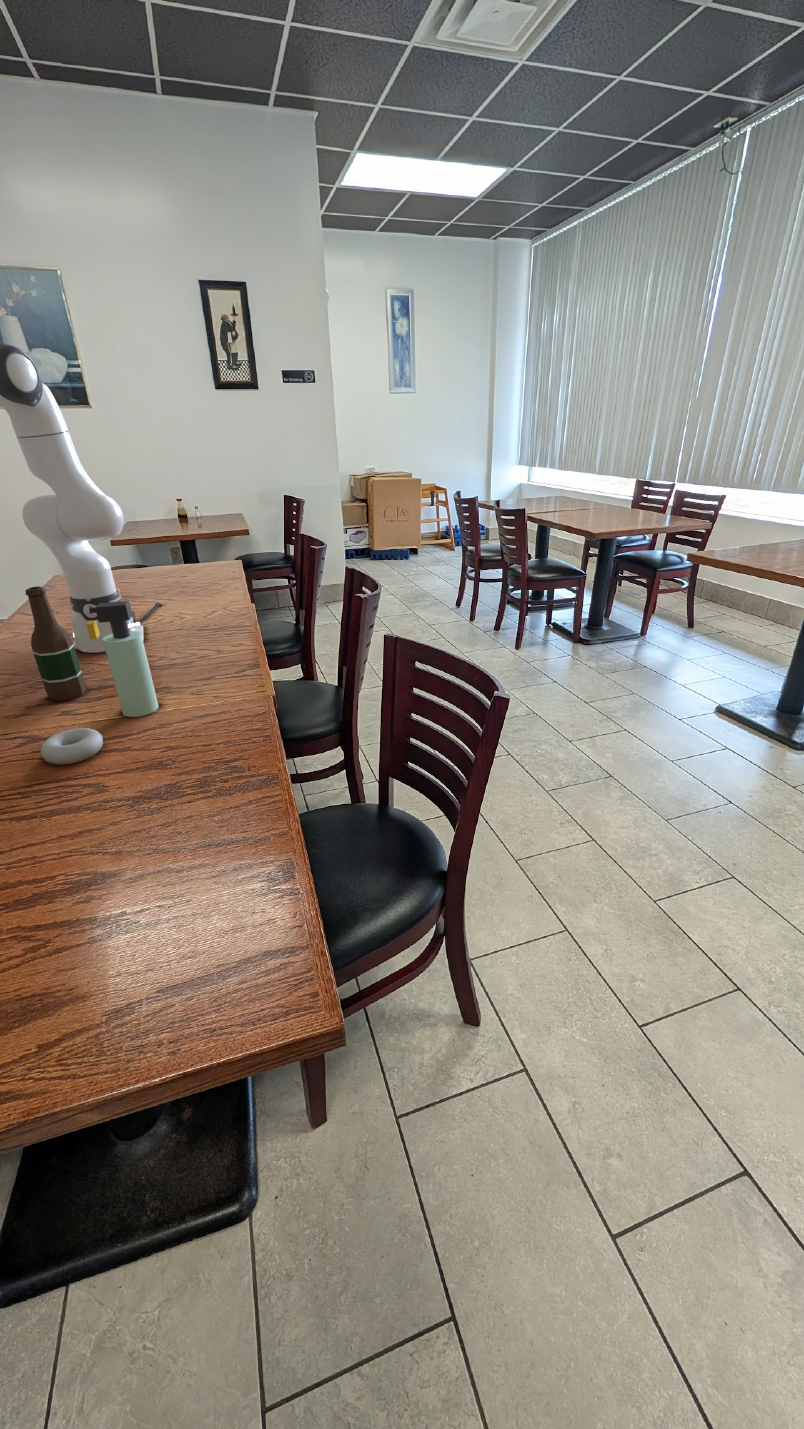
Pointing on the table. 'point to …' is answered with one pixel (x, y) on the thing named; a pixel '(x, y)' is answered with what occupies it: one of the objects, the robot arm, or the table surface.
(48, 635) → the beer bottle
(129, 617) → the spray bottle
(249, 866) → the table surface
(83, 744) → the donut
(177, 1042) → the table surface
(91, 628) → the block
